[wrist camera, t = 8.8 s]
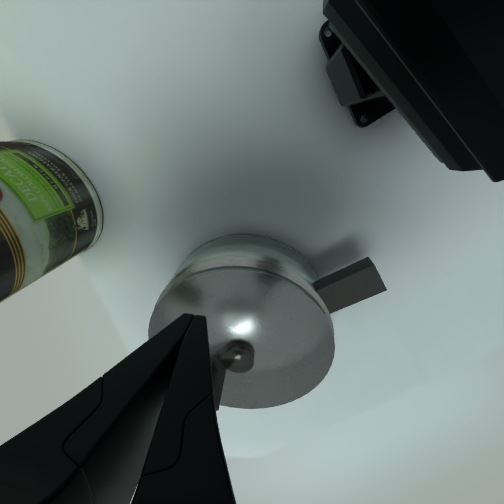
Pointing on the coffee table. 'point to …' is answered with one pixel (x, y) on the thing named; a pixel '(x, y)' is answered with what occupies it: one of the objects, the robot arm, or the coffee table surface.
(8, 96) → the coffee table surface
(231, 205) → the coffee table surface
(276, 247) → the pot
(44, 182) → the coffee can
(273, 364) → the lid
